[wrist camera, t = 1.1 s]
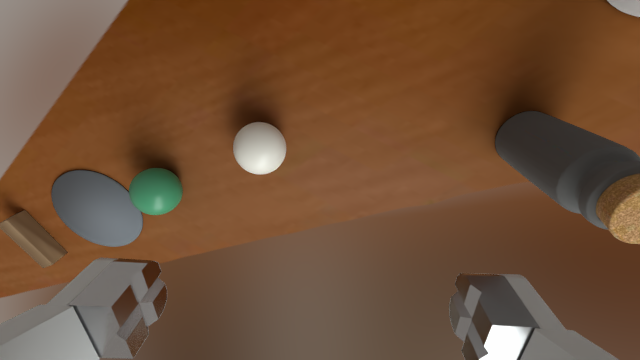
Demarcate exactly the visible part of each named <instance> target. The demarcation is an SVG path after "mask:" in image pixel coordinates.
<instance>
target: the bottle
mask: <svg viewBox="0 0 640 360" xmlns="http://www.w3.org/2000/svg"><path fill="white" fill-rule="evenodd" d="M495 147H496V151H497V153H498V154H499V155H500V157H501V158H502V159H503V160H505V161H506V162H507V163H508V164H510V165H511V166H512V167H513V168H514V169H516V170H517V171H518V172H519V173H521V174H522V175H523V176H524V177H526V178H527V179H528V180H529V181H531V182H532V183H533V184H534V185H536V186H537V187H538V188H539V189H541V190H542V191H543V192H545V193H546V194H547V195H549V197H551V198H552V199H553V200H555V201H556V202H557V203H558V204H560V205H561V206H563V207H564V208H565V209H567V210H569V211H572V212H575V213H581V214H582V215H583V216H584V217H585V218H586V219H587V220H588V221H589V222H591V223H592V224H594V225H595V226H597V227H600V228H603V229H608V230H609V231H610V232H611V233H612V234H613V236H615V237H616V238H617V239H619V240H621V241H623V242H626V243H632V244H640V157H639V156H638V155H637V154H636V153H635V152H634V151H632V150H630V149H628V148H627V147H625V146H622V145H620V144H618V143H615V142H613V141H611V140H608V139H606V138H603V137H601V136H599V135H596V134H594V133H591V132H589V131H586V130H584V129H582V128H579V127H577V126H574V125H572V124H569V123H567V122H564V121H562V120H560V119H557V118H555V117H552V116H550V115H547V114H544V113H541V112H537V111H527V112H522V113H519V114H517V115H515V116H513V117H511V118H510V119H508V120H507V121H506V122H505V123H504V124H503V125H502V126H501V128H500V129H499V131H498V133H497V136H496V140H495Z"/></svg>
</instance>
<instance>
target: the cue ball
mask: <svg viewBox="0 0 640 360" xmlns="http://www.w3.org/2000/svg"><path fill="white" fill-rule="evenodd" d="M233 152H234V156H235V158H236V160H237V162H238V164H239V165H240V166H241V167H242V168H243V169H245V170H246V171H248V172H250V173H253V174H267V173H270V172H272V171H274V170H276V169H277V168H278V167H279V166H280V165H281V163H282V162H283V160H284V158H285V155H286V143H285V139H284V137H283V135H282V134H281V132H280V131H279V130H278V129H277V128H275V127H274V126H272V125H270V124H268V123H264V122H254V123H250V124H248V125H246V126H244V127H243V128H242V129H241V130H240V131H239V132H238V133H237V135H236V137H235V140H234V143H233Z"/></svg>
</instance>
